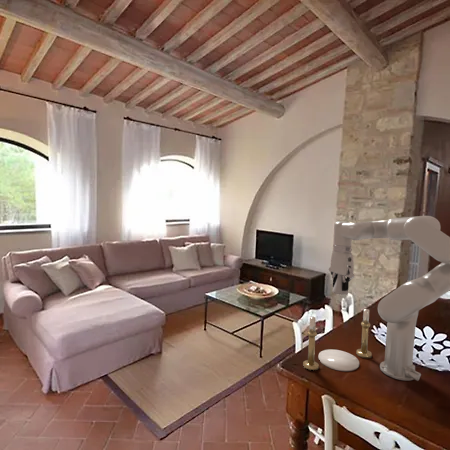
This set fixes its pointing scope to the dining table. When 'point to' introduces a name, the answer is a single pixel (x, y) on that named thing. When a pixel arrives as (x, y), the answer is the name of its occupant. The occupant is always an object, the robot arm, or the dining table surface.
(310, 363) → the near candlestick
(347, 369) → the cream plate
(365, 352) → the far candlestick
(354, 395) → the dining table surface
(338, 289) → the flask
